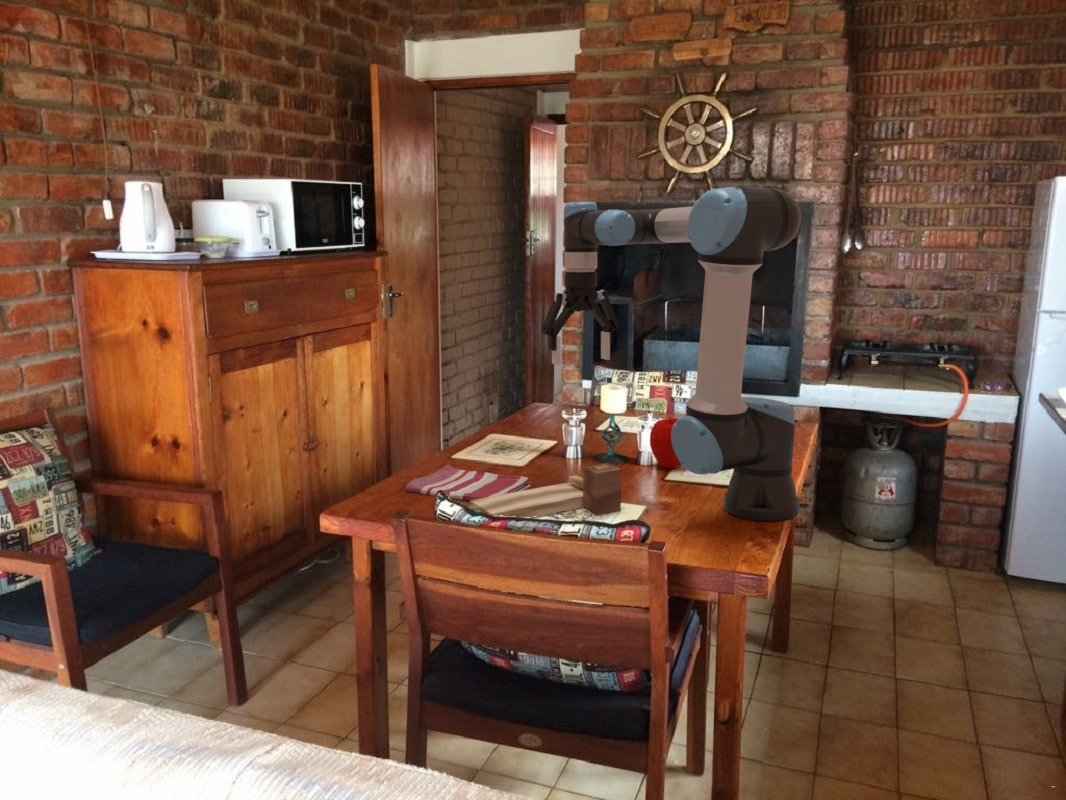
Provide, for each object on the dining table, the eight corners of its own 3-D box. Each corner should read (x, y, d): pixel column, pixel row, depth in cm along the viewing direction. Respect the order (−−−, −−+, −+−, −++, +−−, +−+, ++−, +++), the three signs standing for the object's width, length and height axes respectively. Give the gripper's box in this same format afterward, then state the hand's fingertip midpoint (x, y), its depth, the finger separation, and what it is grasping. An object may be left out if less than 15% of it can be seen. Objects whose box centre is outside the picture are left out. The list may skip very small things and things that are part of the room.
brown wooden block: (620, 510, 186) (621, 468, 184) (596, 515, 184) (596, 472, 182) (583, 493, 198) (583, 452, 196) (560, 497, 195) (560, 456, 193)
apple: (666, 458, 225) (667, 410, 222) (699, 466, 218) (700, 416, 215) (641, 466, 218) (641, 417, 215) (674, 474, 211) (675, 424, 208)
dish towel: (445, 474, 215) (444, 463, 215) (532, 486, 205) (532, 475, 204) (404, 493, 201) (403, 482, 200) (496, 508, 190) (495, 496, 190)
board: (609, 502, 192) (609, 491, 191) (492, 526, 178) (492, 514, 177) (584, 490, 200) (584, 479, 200) (470, 511, 187) (469, 500, 186)
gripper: (616, 267, 217) (616, 354, 221) (525, 272, 205) (526, 364, 209) (634, 268, 210) (634, 358, 214) (541, 273, 198) (542, 368, 203)
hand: (581, 361), depth 212 cm, fingers open, 13 cm apart
